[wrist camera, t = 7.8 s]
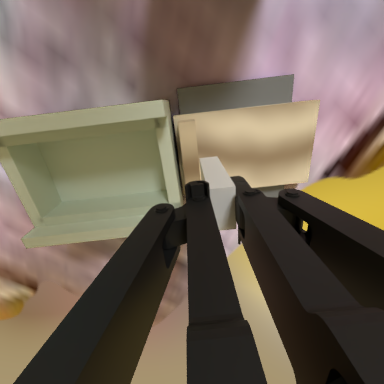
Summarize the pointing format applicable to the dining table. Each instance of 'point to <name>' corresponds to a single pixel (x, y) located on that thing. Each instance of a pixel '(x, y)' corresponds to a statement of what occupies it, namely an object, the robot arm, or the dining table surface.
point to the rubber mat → (238, 101)
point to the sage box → (91, 170)
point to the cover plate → (250, 142)
